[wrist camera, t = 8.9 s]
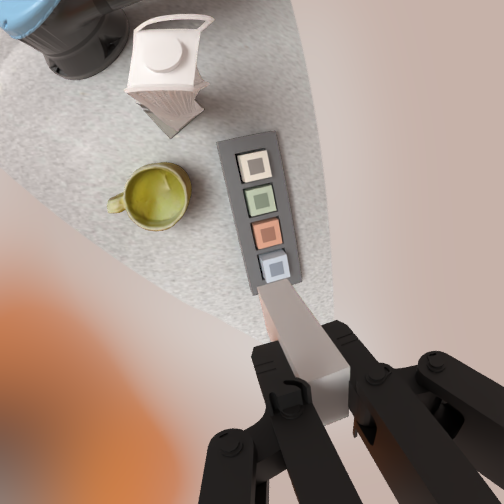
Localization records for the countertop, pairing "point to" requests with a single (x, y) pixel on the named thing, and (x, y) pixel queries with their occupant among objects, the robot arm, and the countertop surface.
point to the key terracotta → (266, 232)
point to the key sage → (259, 199)
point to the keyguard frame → (243, 220)
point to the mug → (154, 196)
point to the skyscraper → (167, 72)
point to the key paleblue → (274, 265)
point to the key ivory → (254, 166)
